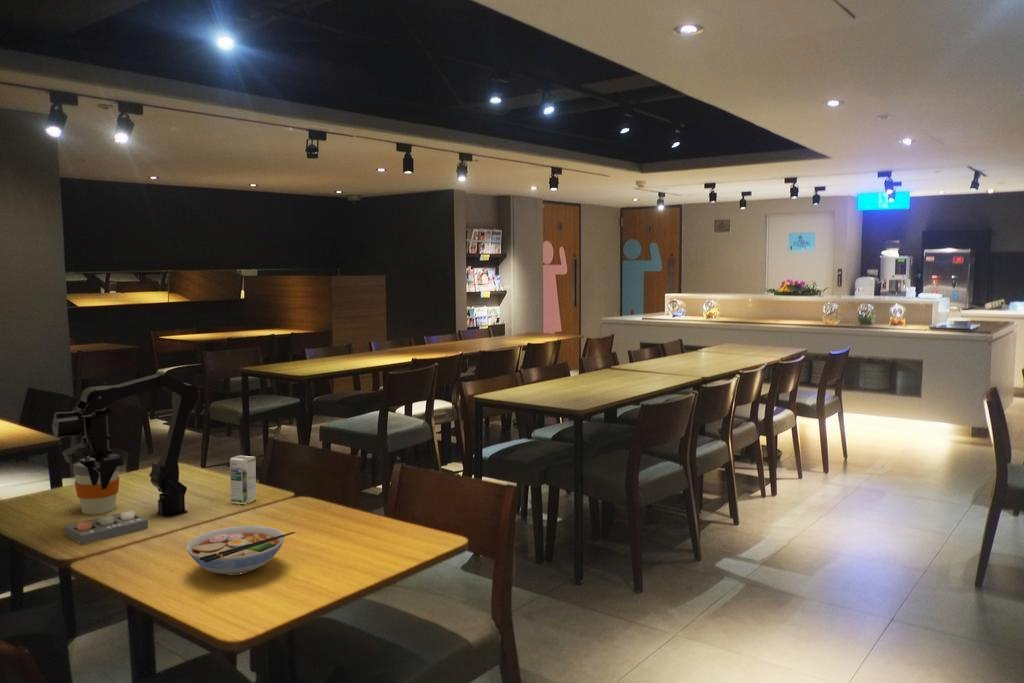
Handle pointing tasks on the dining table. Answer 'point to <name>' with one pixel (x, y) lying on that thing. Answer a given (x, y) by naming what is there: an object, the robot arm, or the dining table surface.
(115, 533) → the button panel
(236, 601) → the dining table surface
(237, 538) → the ramen bowl
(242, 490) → the syrup box
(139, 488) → the dining table surface
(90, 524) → the button terracotta
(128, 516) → the button cream
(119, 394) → the robot arm
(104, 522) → the button sage
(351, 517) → the dining table surface
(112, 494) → the reusable coffee cup
